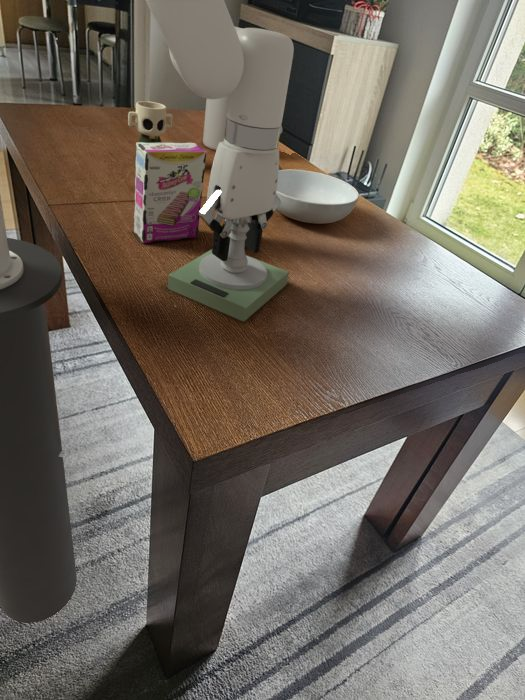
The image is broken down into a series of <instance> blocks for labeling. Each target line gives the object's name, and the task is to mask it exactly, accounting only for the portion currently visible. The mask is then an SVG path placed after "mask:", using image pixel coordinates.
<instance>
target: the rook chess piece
mask: <svg viewBox="0 0 525 700" xmlns="http://www.w3.org/2000/svg"><path fill="white" fill-rule="evenodd" d="M241 219H242V218H238V221H236V219H234V221H233V223H232V225H231V228H230V230H231V233H230V234H229V237H230V245H229V253H228V259H227V261H221V262H220V265H221V267H222V268H223V270H225V271H226V272H229V273H234V274H238V273H242V272H244V271H245V270H246V269H247V265H246V264H247V263H248V260H247V257H246V255H247V254H246V249H245V248H246V247H245V239H246V238H247V236H246V233H247V232H248V231H249V230H250V228H249V226H248V222H247V220H245V219H244V220H243V222H242V221H241Z"/></svg>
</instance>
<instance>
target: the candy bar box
mask: <svg viewBox="0 0 525 700" xmlns="http://www.w3.org/2000/svg"><path fill="white" fill-rule="evenodd" d="M206 160H207V151H206V150H205V149H204V148H203V147H202V146H199V145H198V144H197V143H195V142H161V143H153V142H145V143H144V142H139V141H138V142H135V165H134V166H135V167H134V168H135V169H134V208H133V210H134V211H133V212H134V213H133V233H134V235H135V236H137V238H138V240H140V241H141V243H142V244H150V243H161V242H167V241H179V240H187V239H197V238H198V237H199V236H198V235H199V225H200V219H201V218H200V217H199V215H198V213H199V211H200V210H201V209H202V197H203V190H204V189H203V188H204V179H205V170H206V169H205V168H206V162H207V161H206Z"/></svg>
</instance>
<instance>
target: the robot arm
mask: <svg viewBox="0 0 525 700" xmlns="http://www.w3.org/2000/svg"><path fill="white" fill-rule="evenodd" d="M145 3H146V5H147V6H148V8H149V10H150V12H151V14H152V17H153V19H154V21H155V22H156V25H157V26H158V29H159V30H160V32H161V35H162V36H163V39H164V41H165V43H166V45H167V47H168V51H169V58H170V60H171V63H172V66H173V67H174V69H175V70H176V72H177V74H178V75H179V77H180V79H182V80H183V81H182V82H184V84H185V85H186V86H187V87H188V89H189V90H190V91H191V92H192V93H194V94H195V95H197V96H198V97H201V98H204V99H206V100H207V99H220V98H223V97H225V96H227V95H229V98H228V108H227V117H226V127H225V136H224V141H223V142H219V145H218V147H217V150H216V151H215V154H214V157H213V161H212V165H211V170H210V174H209V181H208V187H207V194H206V202H204V203H205V204H203V206H201V208H200V211H199V213H198V215H199V217H200V218H199V219H201V220H202V221H203V222H204V223H205V224H206V225H207V226H208V228H209V229H210V231H211V232H213V235H212V244H211V245H212V246H211V249H212V254H213V255H215V256H216V257H217V258H219V259H220V260H222V261H227V259H228V253H229V245H230V237H228V236H227V235H228V233H229V230H230V228H231V225H232V223H233V221H234V219H237V218H243V217H248V216H249V217H250V222H251V223H250V222H249V223H248V226H249V228H250V230H249V231H248V232H247V233H246V236H247V238H246V239H245V248H246V249H248V250H249V251H251V252H253V253H254V254H258V253H260V250H261V243H262V238H263V237H262V236H263V232H264V230H266V228H267V226H268V222H269V220H271V218H272V217H273V215H274V213H275V211H277V210H276V209H277V208H278V207H279V205H280V204H281V201H280V199H279V197H278V196H277V194H276V190H277V183H278V174H279V165H280V147H279V142H280V136H281V135H282V134H283V130H284V129H283V126H282V123H283V117H284V112H285V105H286V100H287V94H288V90H289V89H288V87H289V83H290V81H289V80H290V76H291V71H292V65H293V59H294V52H295V51H294V50H295V49H294V47H295V46H294V43H293V40H292V39H291V37H289V36H288V35H286V34H285V33H282V32H278V31H274V30H270V29H264V28H259V27H244V28H242V27H238V26H235V24H234V22H233V19H232V17H231V14H230V12H229V9H228V7H227V4H226V2H225V0H145ZM215 212H216V213H215ZM214 213H215V215H214ZM223 220H224V221H223ZM222 221H223V223H222ZM7 238H8V235H7V229H6V223H5V217H4V209H3V203H2V197H1V195H0V290H1V289H4V288H6V287H8V286H10V285H12V284H14V283H15V282H16V281H18V280H19V279H20V278H21V276H22V274H23V271H24V268H23V262H22V260H21V258H20V257H19V256H18V255H16V254H15V253H13V252H11V251H9V248H8V241H7Z"/></svg>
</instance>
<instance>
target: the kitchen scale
mask: <svg viewBox="0 0 525 700" xmlns="http://www.w3.org/2000/svg"><path fill="white" fill-rule="evenodd" d="M246 257H247V260H248V263H247V264H246V265H247V269H246V270H245V271H244V272H242V273H238V274H234V273H229V272H226V271H225V270H223V268H222V267H221V265H220V262H221V261H222V260H220V259H219V258H217V257H216V256H215V255H213V254H212V248H211V249H209V250H208V251H206V252H205V253H203V254H200V255H199V256H198V257H196V258H194V259H192V260H191V261H189V262H188V263H186V264H184V265H183V266H180V267H179V268H177V269H175V270H174V271H172V272H170V273H169V274H168V275H167V290H170V291H171V292H175V293H176V294H179V295H181V296H183V297H186V298H188V299H191V300H192V301H195V302H197V303H200V304H202V305H204V306H206V307H209V308H211V309H213V310H216V311H218V312H220V313H223V314H224V315H227V316H229V317H231V318H234V319H236V320H238V321H240V322H243V323H245V322H246V321H247V320H248V319H250V317H251V316H252V315H254V314H255V313H256V312H257V311H258V310H260V308H262V307H263V306H264V305H265V304H266V303H268V302H269V301H270V300H271V299H272V298H273V297H274V296H275V295H277V294H278V293H279V292H280V291H281V290H282V289H284V287H286V286H287V284H288V280H289V275H290V271H287V270H285V269H283V268H281V267H277V266H274V265H272V264H270V263H267V262H265V261H262V260H259V259H257V258H254V257H253V256H250V255H247V254H246Z"/></svg>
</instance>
